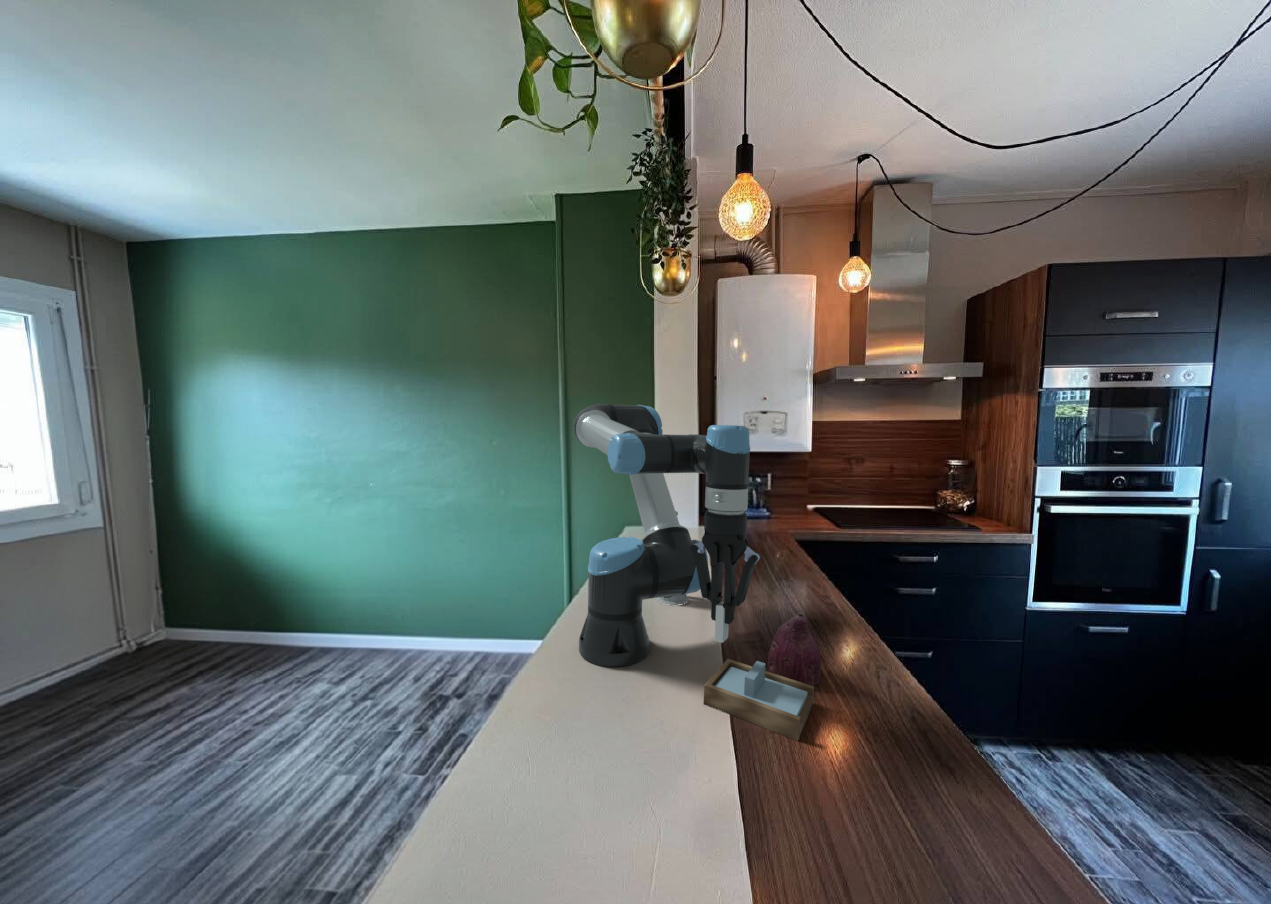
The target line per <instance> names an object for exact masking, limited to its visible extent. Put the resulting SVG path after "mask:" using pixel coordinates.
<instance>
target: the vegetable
mask: <svg viewBox="0 0 1271 904" xmlns="http://www.w3.org/2000/svg"><path fill="white" fill-rule="evenodd" d="M766 664H767V665H766V671H768V672H771V673H774V674H777V675H780V676H783V677H786V678H789V679H792V680H795V681H799V682H802V683H805V684H808V685H811V686H814V687H815V686H817V685H818V684H819V683H820V681H821V675H822V674H821V673H822V658H821V654H820V650H819V646H818V644H817V643H816V641H815V639H814V636H813V634H812V633H811V631H810V628H809V624H808V621H807V618H806V616H805V615H804V614H803V613H802V612H798V613H797V614H796V613H795V615H794V616H792V617H791V618H790V619H789V620H787V621H786V622H784V623H783V624H780V626H779V628H778V629H777V630H776V632H775V635H774V637H773V640H772V642H771V645H770V648H769V651H768V656H767V663H766Z"/></svg>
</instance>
